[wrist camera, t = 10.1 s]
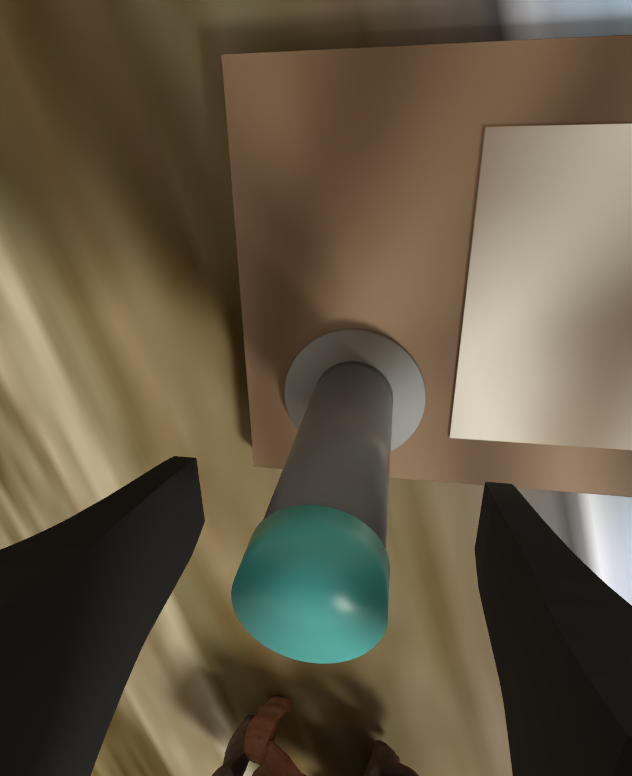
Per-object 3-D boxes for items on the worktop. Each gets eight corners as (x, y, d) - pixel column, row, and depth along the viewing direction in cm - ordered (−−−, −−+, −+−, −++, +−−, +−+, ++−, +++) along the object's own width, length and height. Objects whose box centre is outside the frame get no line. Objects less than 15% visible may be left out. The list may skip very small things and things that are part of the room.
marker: (398, 360, 17) (392, 556, 9) (393, 437, 18) (384, 673, 10) (310, 356, 17) (224, 538, 9) (312, 431, 18) (237, 652, 10)
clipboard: (974, 26, 12) (1039, 11, 11) (765, 491, 18) (792, 516, 17) (232, 60, 15) (216, 52, 14) (260, 453, 21) (251, 472, 20)
